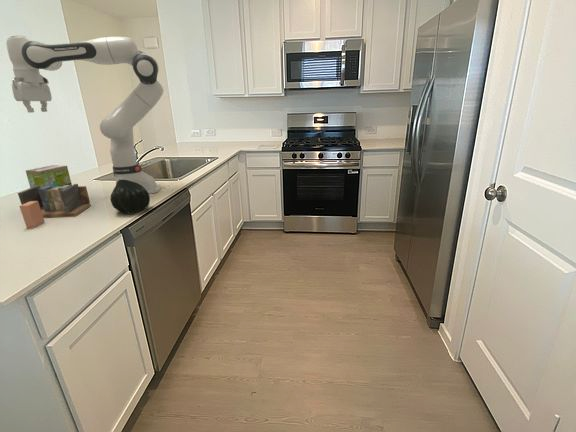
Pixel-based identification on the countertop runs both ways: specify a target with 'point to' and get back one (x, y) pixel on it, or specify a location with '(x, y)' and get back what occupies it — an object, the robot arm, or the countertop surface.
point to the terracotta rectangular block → (32, 214)
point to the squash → (129, 197)
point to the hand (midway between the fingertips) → (38, 112)
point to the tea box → (49, 176)
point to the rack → (58, 200)
